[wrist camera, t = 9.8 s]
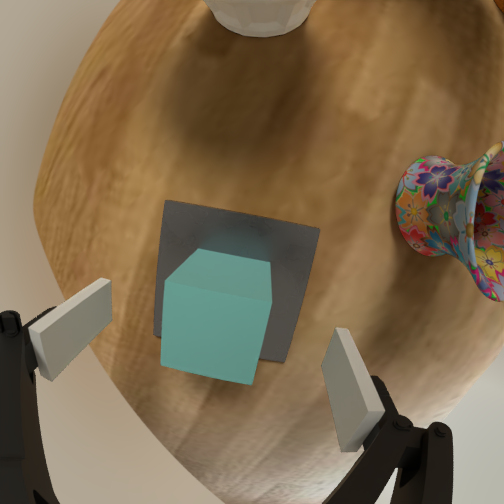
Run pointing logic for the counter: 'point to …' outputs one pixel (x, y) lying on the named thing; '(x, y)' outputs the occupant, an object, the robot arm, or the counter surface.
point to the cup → (260, 15)
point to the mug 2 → (500, 4)
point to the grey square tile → (244, 245)
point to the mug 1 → (458, 214)
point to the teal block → (216, 315)
